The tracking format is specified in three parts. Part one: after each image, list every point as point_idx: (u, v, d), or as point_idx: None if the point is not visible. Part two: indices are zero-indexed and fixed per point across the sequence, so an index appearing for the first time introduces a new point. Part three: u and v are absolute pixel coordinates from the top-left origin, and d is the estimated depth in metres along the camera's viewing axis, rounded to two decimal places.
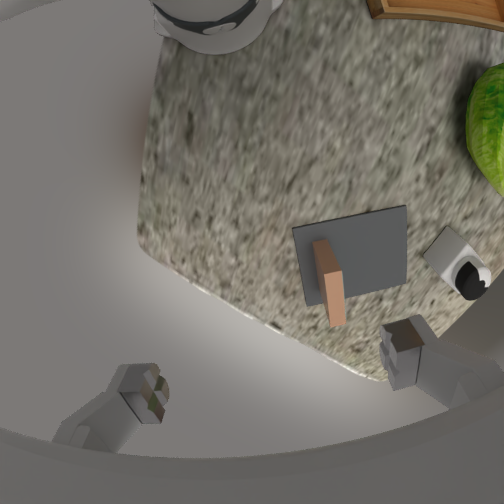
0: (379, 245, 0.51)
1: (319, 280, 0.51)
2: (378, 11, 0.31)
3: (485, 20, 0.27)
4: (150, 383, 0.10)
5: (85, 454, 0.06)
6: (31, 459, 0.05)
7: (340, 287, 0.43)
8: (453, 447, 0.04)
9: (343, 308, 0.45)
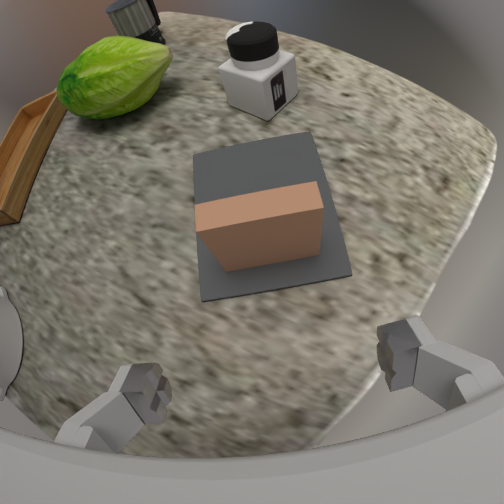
0: (243, 176, 0.38)
1: (280, 253, 0.31)
2: (7, 215, 0.41)
3: (40, 121, 0.46)
4: (153, 383, 0.10)
5: (85, 454, 0.06)
6: (31, 459, 0.05)
7: (228, 202, 0.25)
8: (453, 447, 0.04)
9: (277, 190, 0.24)
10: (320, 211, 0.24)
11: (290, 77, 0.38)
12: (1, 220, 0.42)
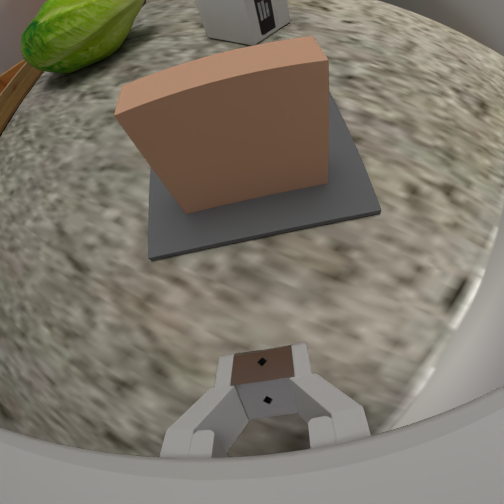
0: None
1: (265, 173, 0.19)
2: None
3: (6, 86, 0.35)
4: None
5: (85, 454, 0.06)
6: (31, 459, 0.05)
7: (169, 72, 0.13)
8: (453, 447, 0.04)
9: (249, 48, 0.13)
10: (323, 69, 0.12)
11: None
12: None
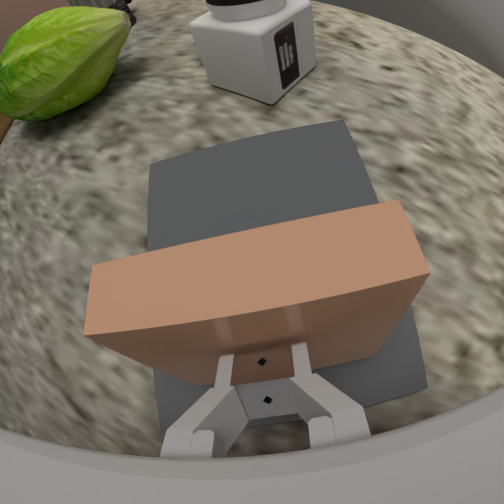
0: (231, 200, 0.21)
1: None
2: None
3: None
4: None
5: (85, 454, 0.06)
6: (31, 459, 0.05)
7: (162, 260, 0.09)
8: (453, 447, 0.04)
9: (295, 226, 0.09)
10: (417, 283, 0.08)
11: (305, 36, 0.22)
12: None
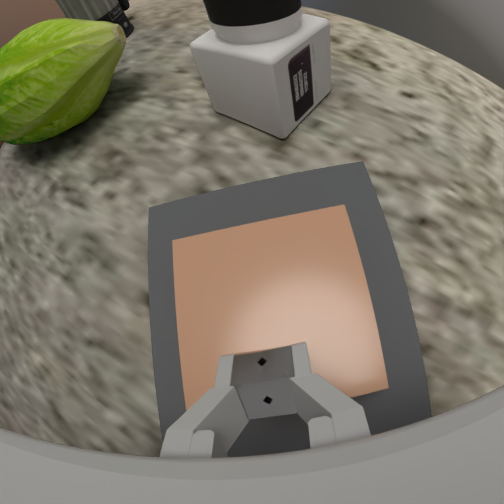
0: None
1: None
2: None
3: None
4: None
5: (85, 454, 0.06)
6: (31, 459, 0.05)
7: None
8: (453, 447, 0.04)
9: None
10: (342, 213, 0.17)
11: (321, 60, 0.20)
12: None
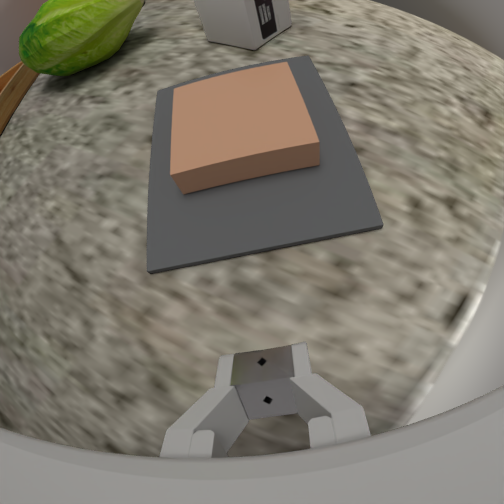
0: None
1: (254, 127, 0.20)
2: None
3: (5, 86, 0.35)
4: None
5: (85, 454, 0.06)
6: (31, 459, 0.05)
7: None
8: (453, 447, 0.04)
9: None
10: (285, 65, 0.23)
11: (280, 1, 0.26)
12: None
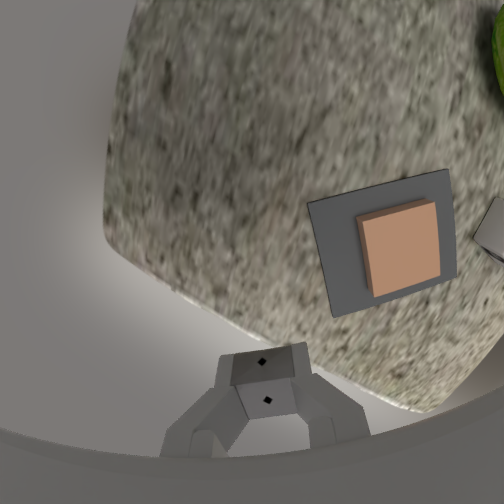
0: None
1: (388, 264, 0.35)
2: None
3: None
4: None
5: (85, 454, 0.06)
6: (31, 459, 0.05)
7: None
8: (453, 447, 0.04)
9: None
10: (437, 274, 0.36)
11: None
12: None
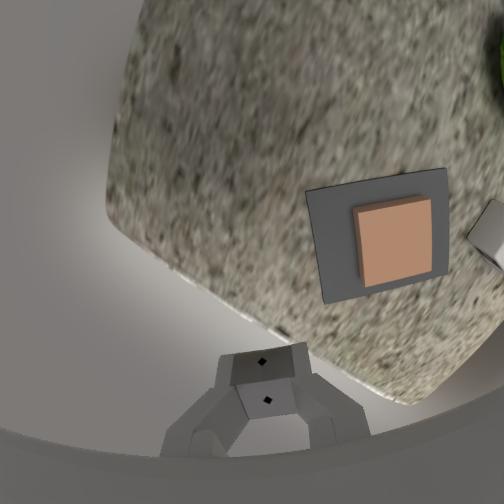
0: None
1: (381, 256, 0.37)
2: None
3: None
4: None
5: (85, 454, 0.06)
6: (31, 459, 0.05)
7: None
8: (453, 447, 0.04)
9: None
10: (428, 270, 0.37)
11: (497, 269, 0.35)
12: None
